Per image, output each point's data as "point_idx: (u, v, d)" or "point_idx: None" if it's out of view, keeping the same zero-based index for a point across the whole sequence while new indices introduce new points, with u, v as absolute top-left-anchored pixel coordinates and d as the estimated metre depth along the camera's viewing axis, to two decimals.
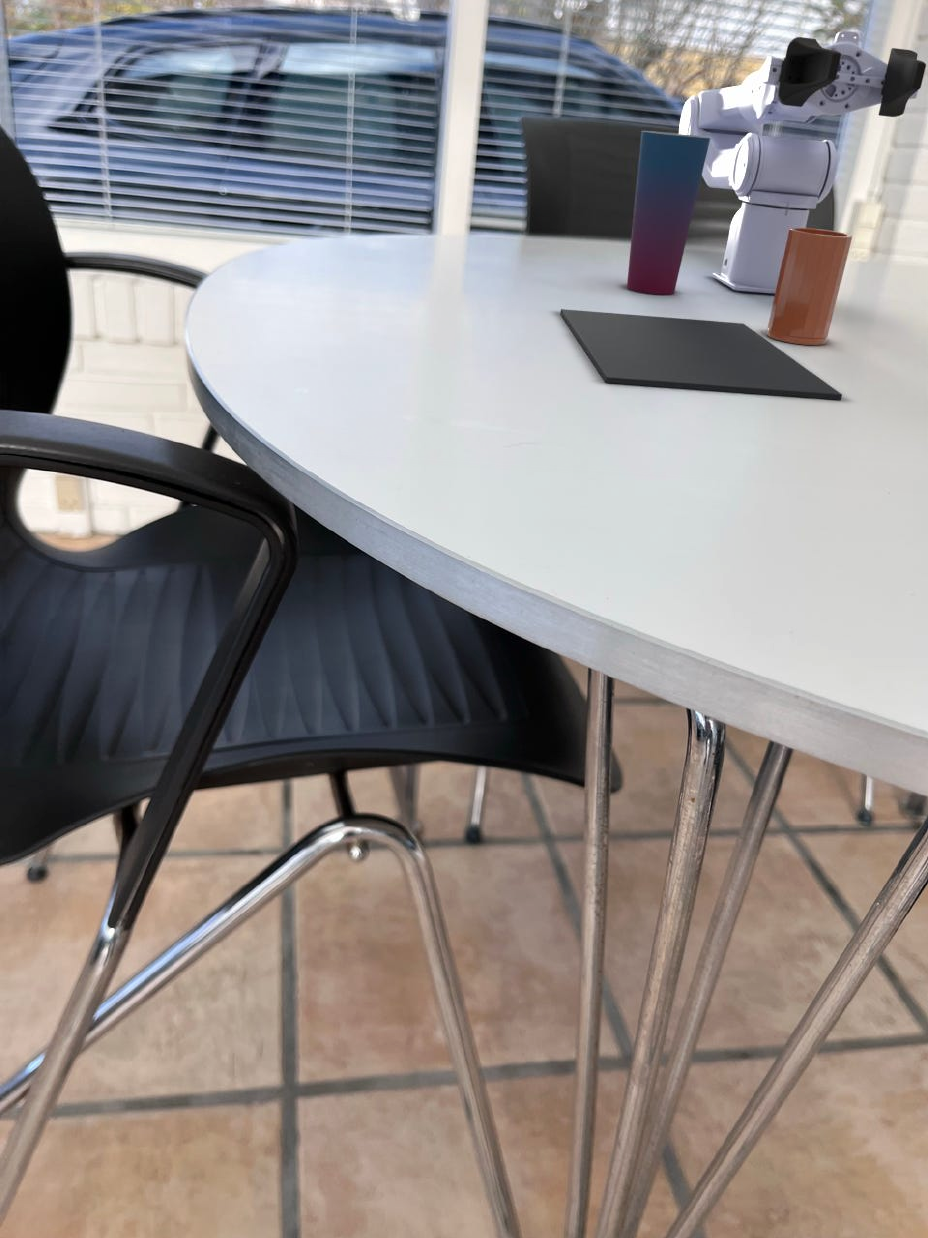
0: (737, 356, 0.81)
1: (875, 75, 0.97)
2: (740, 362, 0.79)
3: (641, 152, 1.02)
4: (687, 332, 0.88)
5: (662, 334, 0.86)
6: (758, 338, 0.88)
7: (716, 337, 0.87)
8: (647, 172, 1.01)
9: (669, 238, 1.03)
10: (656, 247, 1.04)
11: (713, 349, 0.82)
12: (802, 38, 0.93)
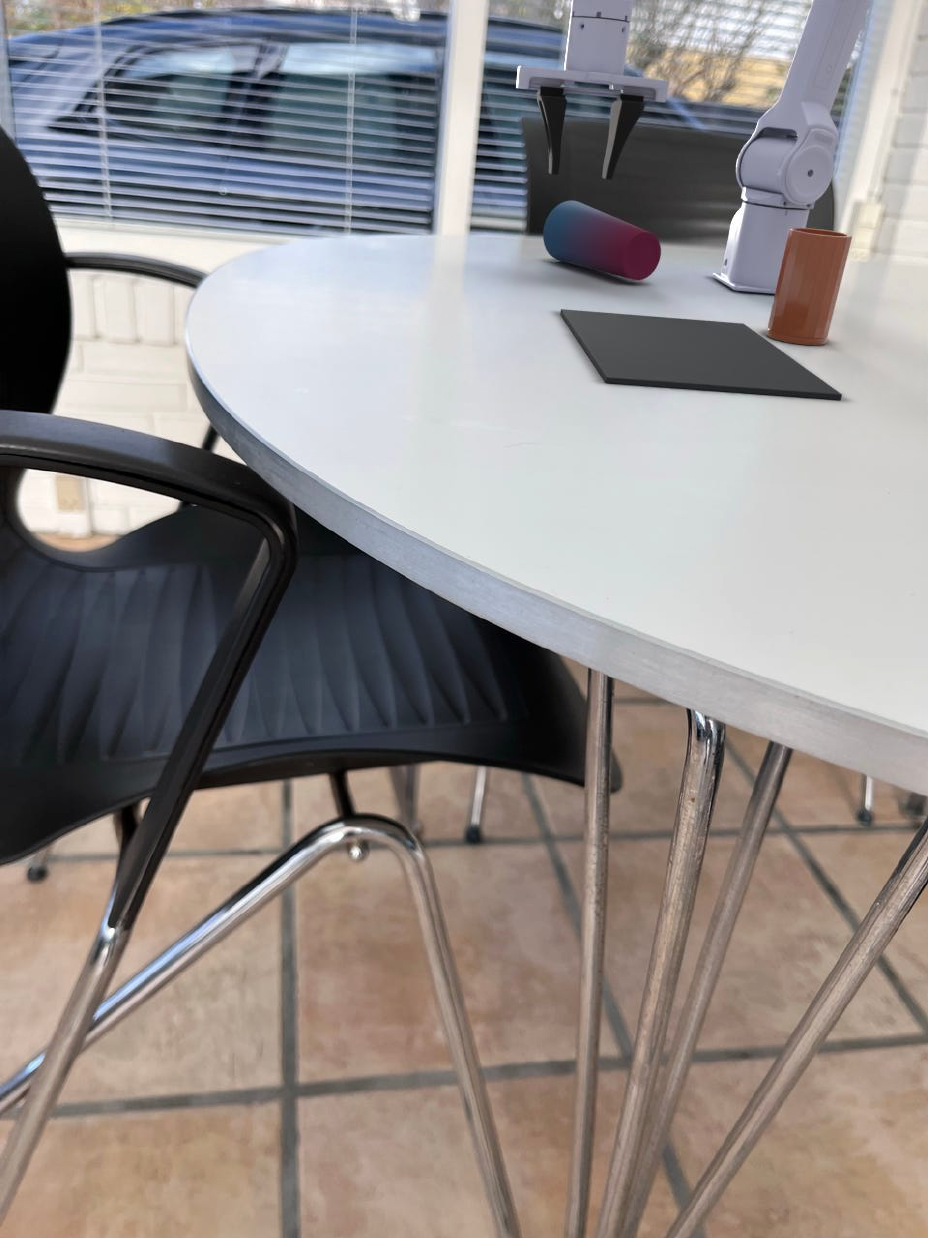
0: (737, 356, 0.81)
1: (626, 85, 0.99)
2: (740, 362, 0.79)
3: (552, 239, 1.18)
4: (687, 332, 0.88)
5: (662, 334, 0.86)
6: (758, 338, 0.88)
7: (716, 337, 0.87)
8: (562, 228, 1.16)
9: (612, 219, 1.12)
10: (609, 225, 1.11)
11: (713, 349, 0.82)
12: (553, 101, 0.97)
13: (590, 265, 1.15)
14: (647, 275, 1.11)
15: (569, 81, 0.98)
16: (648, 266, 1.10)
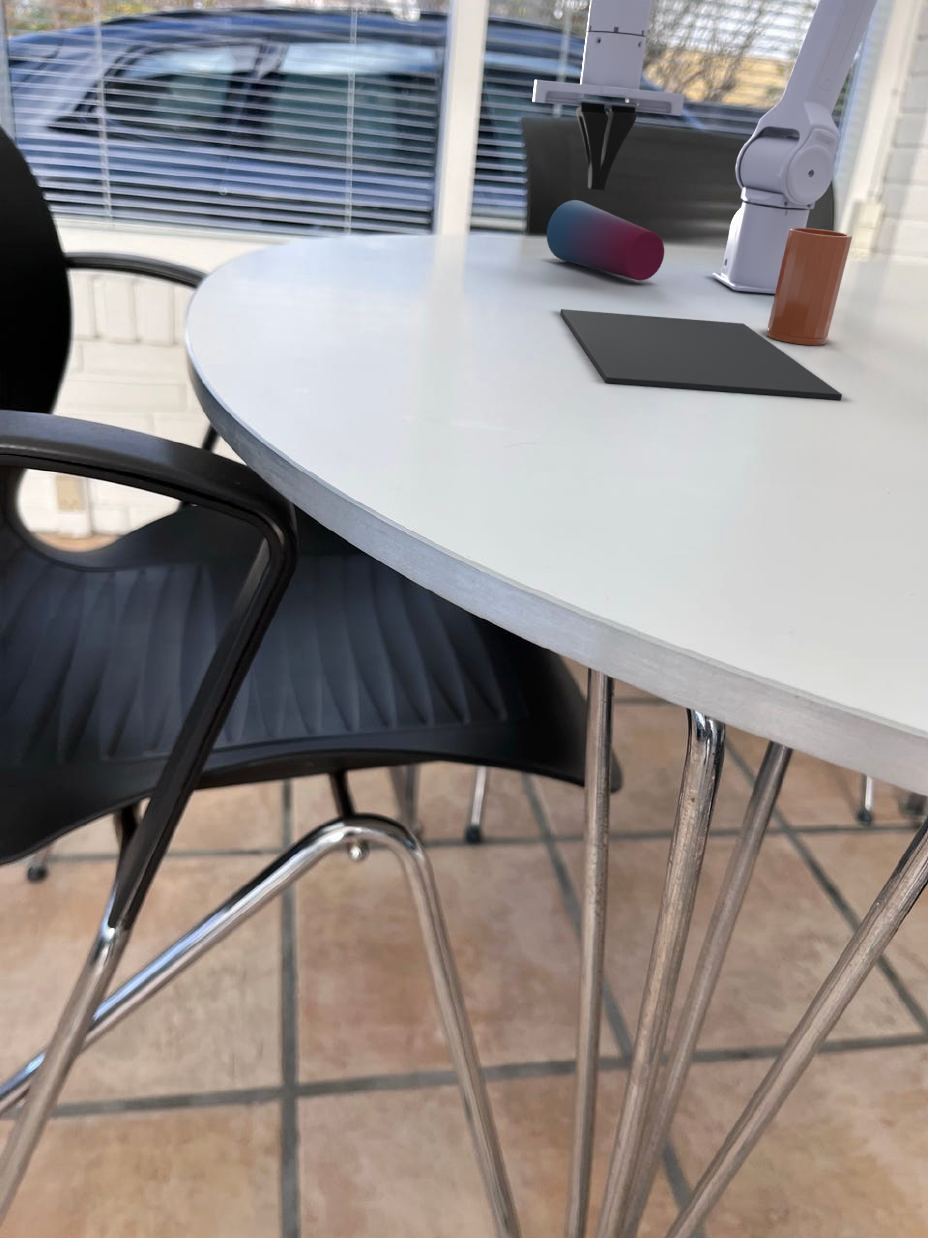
0: (737, 356, 0.81)
1: (642, 99, 0.99)
2: (740, 362, 0.79)
3: (555, 235, 1.18)
4: (687, 332, 0.88)
5: (662, 334, 0.86)
6: (758, 338, 0.88)
7: (716, 337, 0.87)
8: (567, 224, 1.16)
9: (619, 219, 1.12)
10: (615, 223, 1.11)
11: (713, 349, 0.82)
12: (594, 117, 0.98)
13: (591, 262, 1.15)
14: (647, 276, 1.11)
15: (585, 95, 0.98)
16: (650, 267, 1.11)
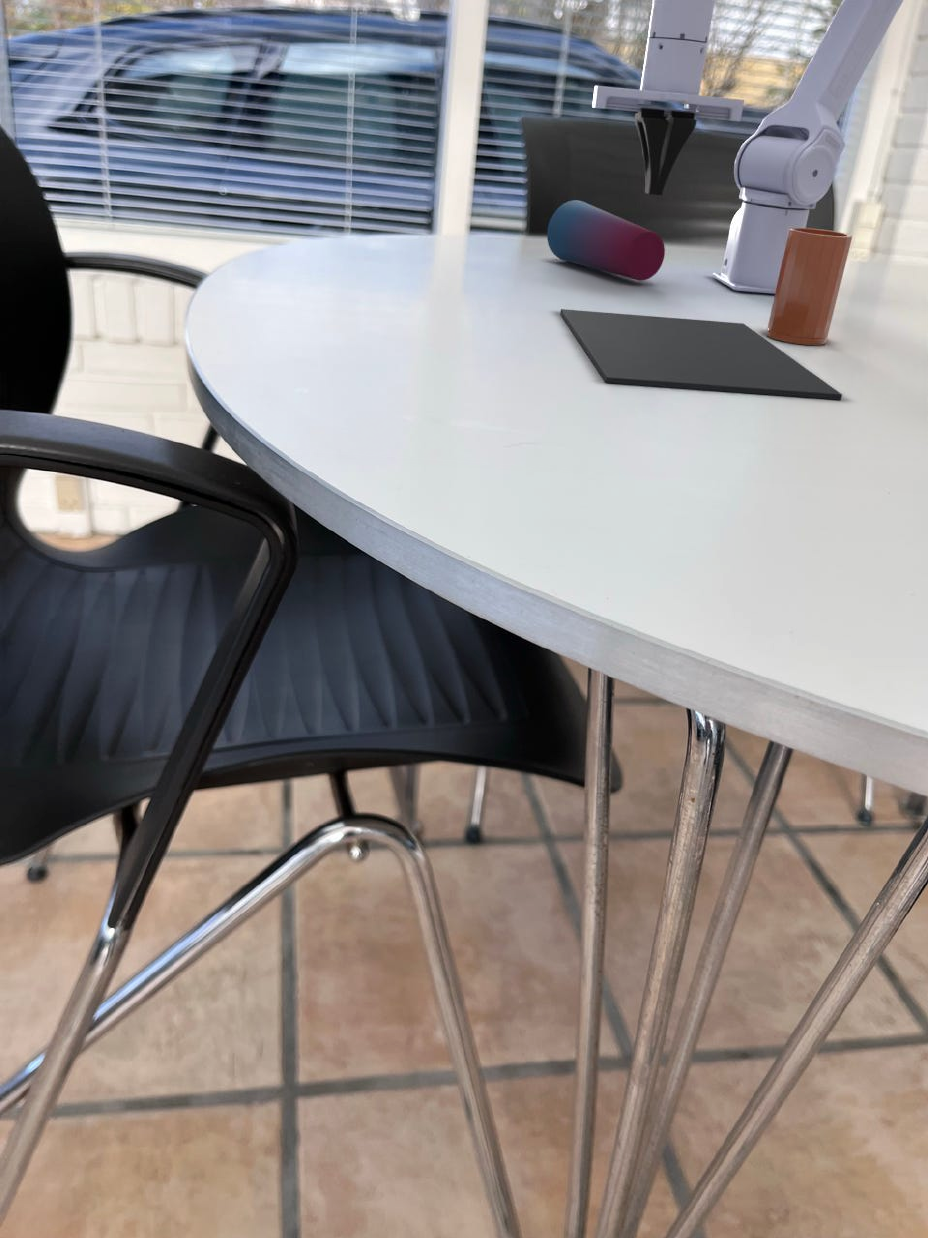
0: (737, 356, 0.81)
1: (702, 105, 1.00)
2: (740, 362, 0.79)
3: (556, 234, 1.18)
4: (687, 332, 0.88)
5: (662, 334, 0.86)
6: (758, 338, 0.88)
7: (716, 337, 0.87)
8: (568, 224, 1.16)
9: (620, 219, 1.12)
10: (616, 223, 1.11)
11: (713, 349, 0.82)
12: (655, 123, 0.99)
13: (592, 262, 1.15)
14: (648, 276, 1.11)
15: (646, 101, 0.99)
16: (650, 268, 1.11)
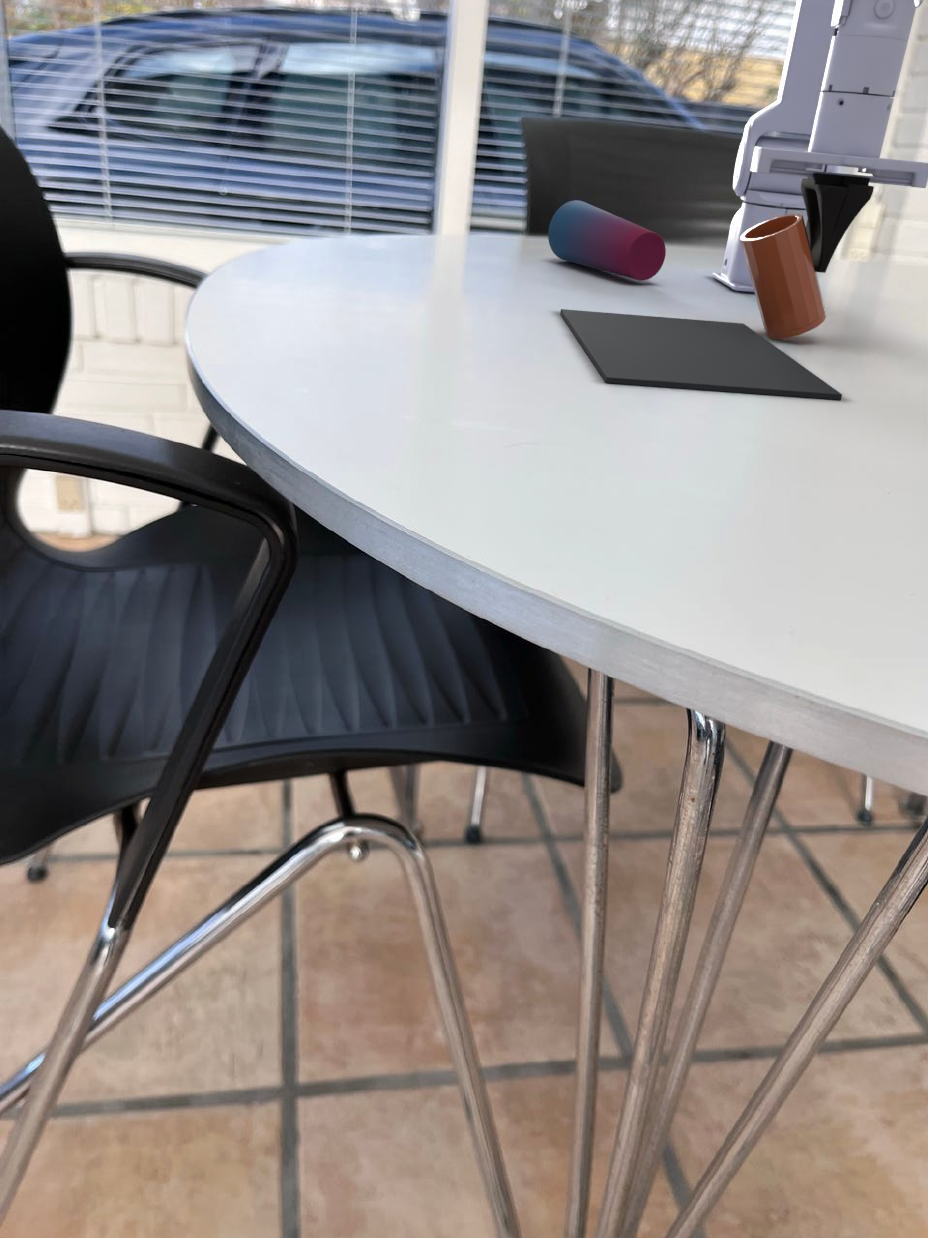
0: (737, 356, 0.81)
1: None
2: (740, 362, 0.79)
3: (557, 233, 1.18)
4: (687, 332, 0.88)
5: (662, 334, 0.86)
6: (758, 338, 0.88)
7: (716, 337, 0.87)
8: (569, 223, 1.16)
9: (622, 219, 1.12)
10: (618, 223, 1.11)
11: (713, 349, 0.82)
12: (833, 191, 0.83)
13: (592, 261, 1.15)
14: (648, 277, 1.11)
15: (818, 165, 0.84)
16: (650, 268, 1.11)
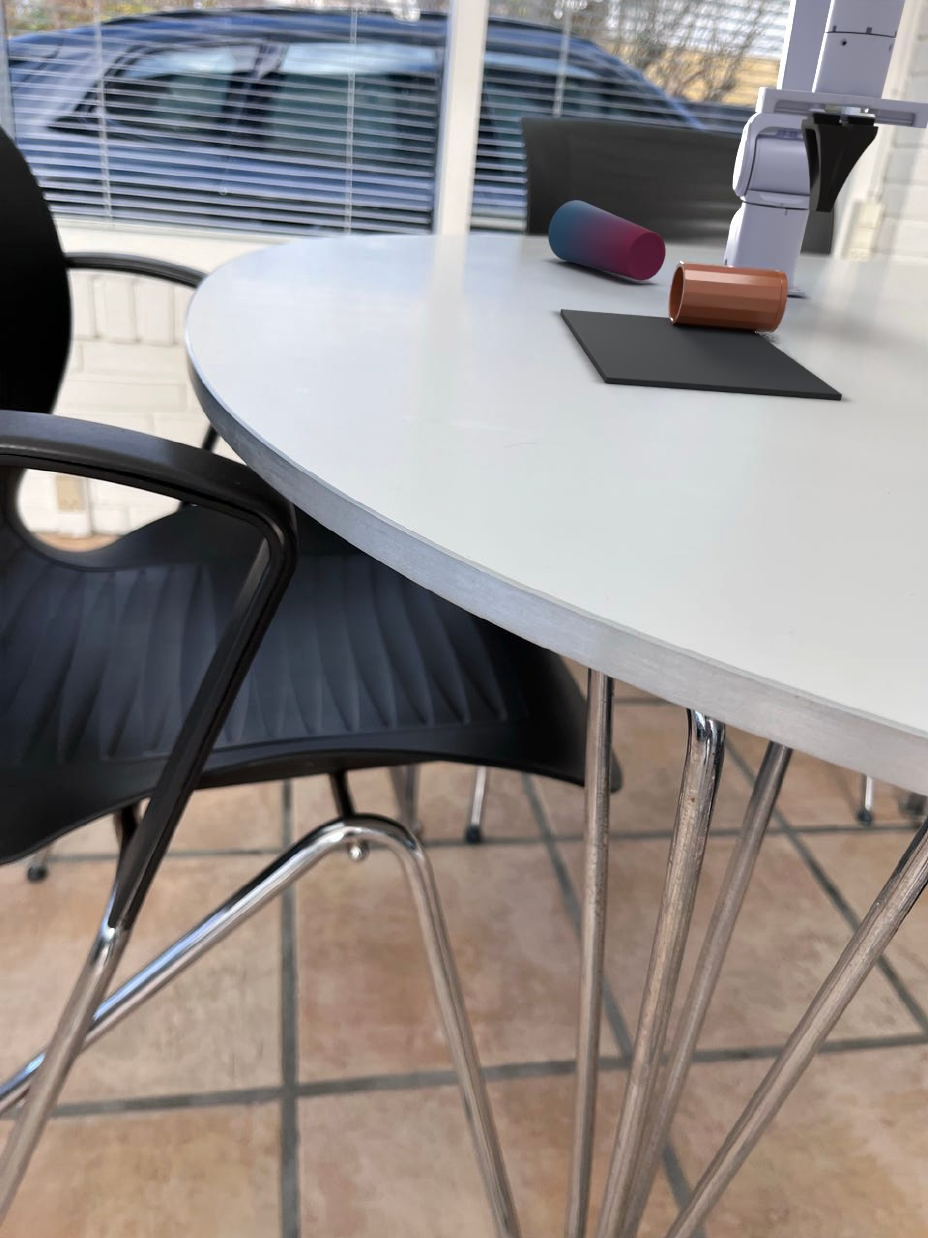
0: (737, 356, 0.81)
1: (883, 109, 0.87)
2: (740, 362, 0.79)
3: (557, 233, 1.18)
4: (687, 332, 0.88)
5: (662, 334, 0.86)
6: (758, 338, 0.88)
7: (716, 337, 0.87)
8: (569, 223, 1.16)
9: (622, 219, 1.12)
10: (618, 223, 1.11)
11: (713, 349, 0.82)
12: (832, 130, 0.86)
13: (592, 261, 1.15)
14: (648, 277, 1.11)
15: (821, 105, 0.86)
16: (650, 268, 1.11)
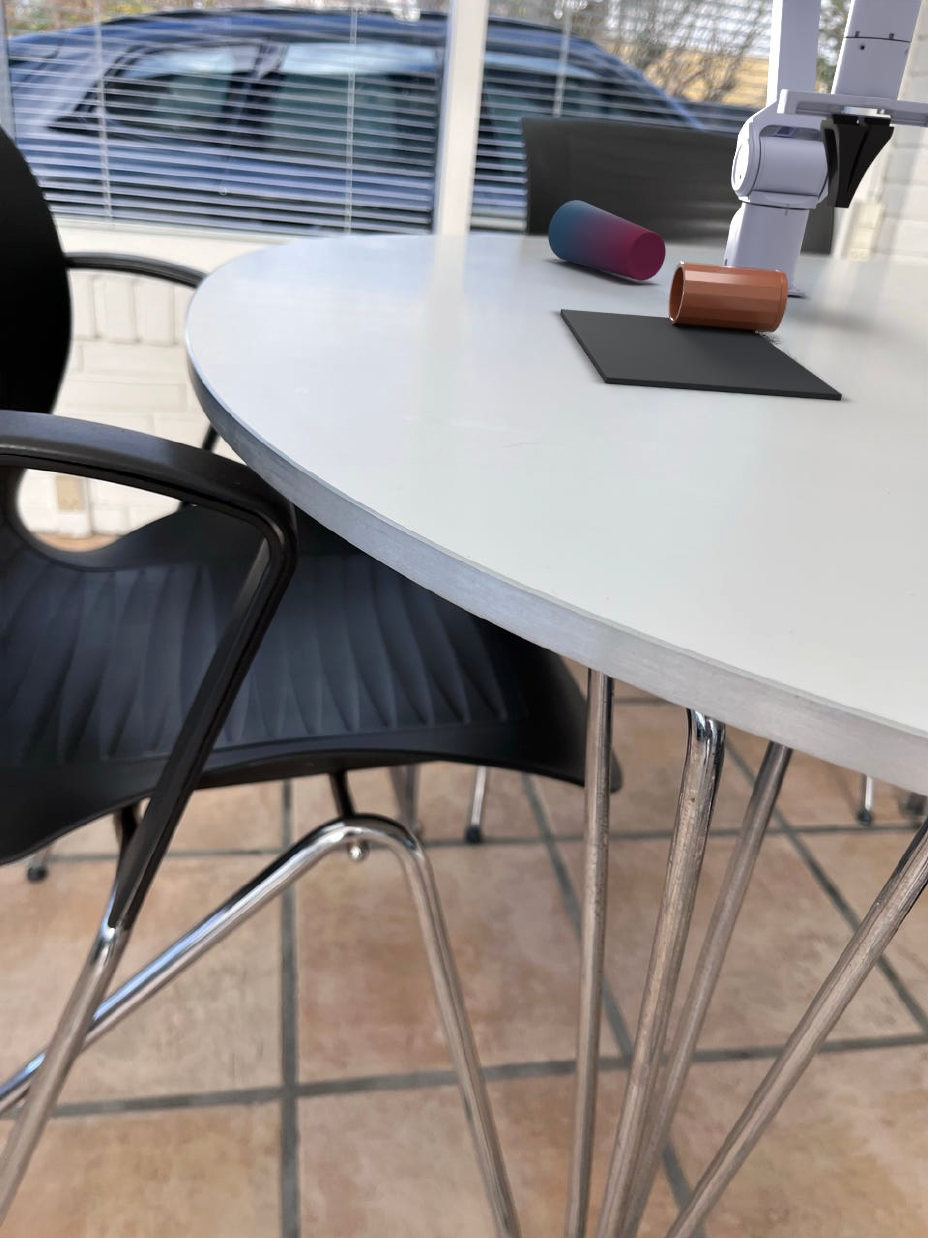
0: (737, 356, 0.81)
1: (899, 110, 0.92)
2: (740, 362, 0.79)
3: (557, 233, 1.18)
4: (687, 332, 0.88)
5: (662, 334, 0.86)
6: (758, 338, 0.88)
7: (716, 337, 0.87)
8: (569, 223, 1.16)
9: (622, 219, 1.12)
10: (618, 223, 1.11)
11: (713, 349, 0.82)
12: (850, 130, 0.91)
13: (592, 261, 1.15)
14: (648, 277, 1.11)
15: (840, 106, 0.91)
16: (650, 268, 1.11)
